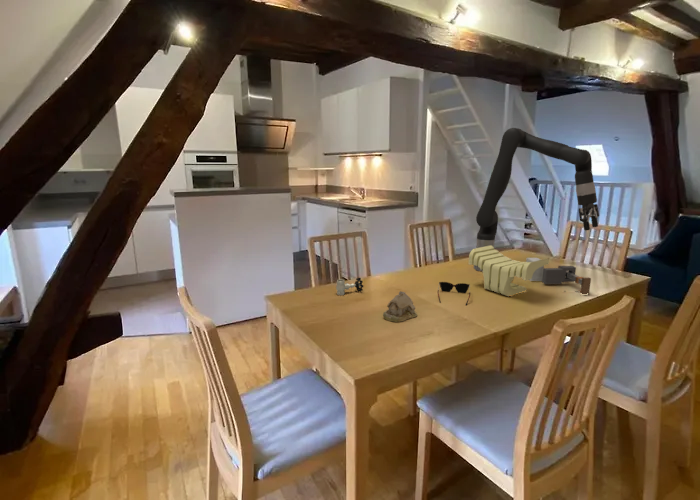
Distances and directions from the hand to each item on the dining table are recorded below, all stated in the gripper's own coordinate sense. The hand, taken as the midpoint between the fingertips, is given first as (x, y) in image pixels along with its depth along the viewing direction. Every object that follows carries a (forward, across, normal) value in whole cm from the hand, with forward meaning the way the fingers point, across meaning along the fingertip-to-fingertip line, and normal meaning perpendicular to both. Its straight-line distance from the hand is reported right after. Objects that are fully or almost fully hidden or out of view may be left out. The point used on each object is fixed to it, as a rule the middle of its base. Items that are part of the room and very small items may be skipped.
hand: (591, 228), depth 181 cm
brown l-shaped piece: (+26, +10, -11) cm, 30 cm away
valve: (+8, +93, -67) cm, 115 cm away
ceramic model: (+16, +94, -34) cm, 101 cm away
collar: (+24, +7, -15) cm, 29 cm away
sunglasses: (+18, +61, -34) cm, 72 cm away
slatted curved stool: (+21, +35, -26) cm, 49 cm away
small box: (+22, +8, -27) cm, 36 cm away
